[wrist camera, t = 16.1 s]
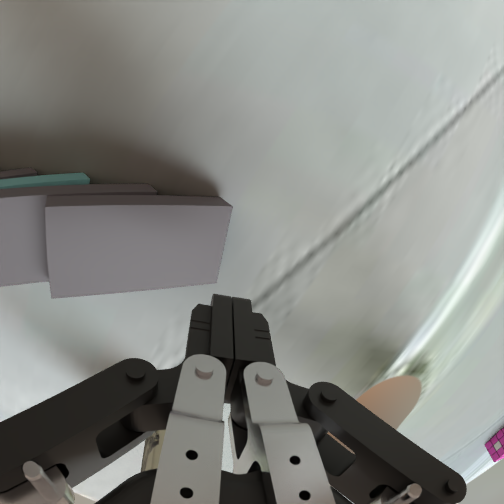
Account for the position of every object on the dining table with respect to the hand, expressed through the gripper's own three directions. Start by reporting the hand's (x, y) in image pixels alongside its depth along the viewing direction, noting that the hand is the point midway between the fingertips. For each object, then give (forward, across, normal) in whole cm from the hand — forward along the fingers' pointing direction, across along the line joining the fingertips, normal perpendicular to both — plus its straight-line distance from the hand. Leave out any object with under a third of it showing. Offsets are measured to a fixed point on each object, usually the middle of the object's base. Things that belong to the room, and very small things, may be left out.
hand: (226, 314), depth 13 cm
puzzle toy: (+8, -66, +34) cm, 75 cm away
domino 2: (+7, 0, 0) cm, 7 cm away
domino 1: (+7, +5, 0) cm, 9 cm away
